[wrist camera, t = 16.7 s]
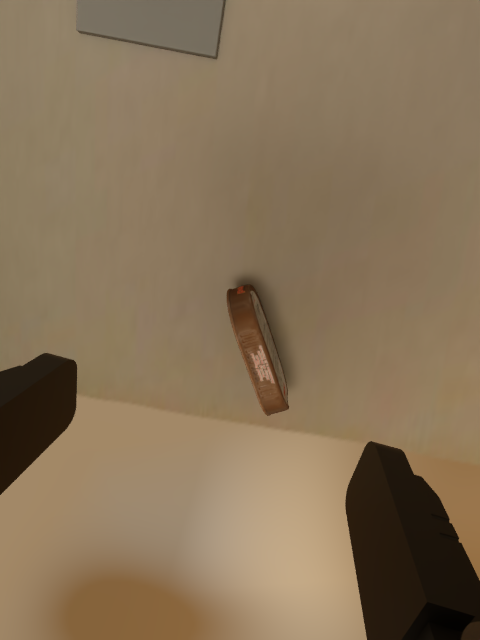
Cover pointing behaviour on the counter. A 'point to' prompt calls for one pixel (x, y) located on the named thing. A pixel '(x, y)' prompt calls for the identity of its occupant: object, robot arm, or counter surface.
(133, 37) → the mat
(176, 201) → the counter surface
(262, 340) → the tin
